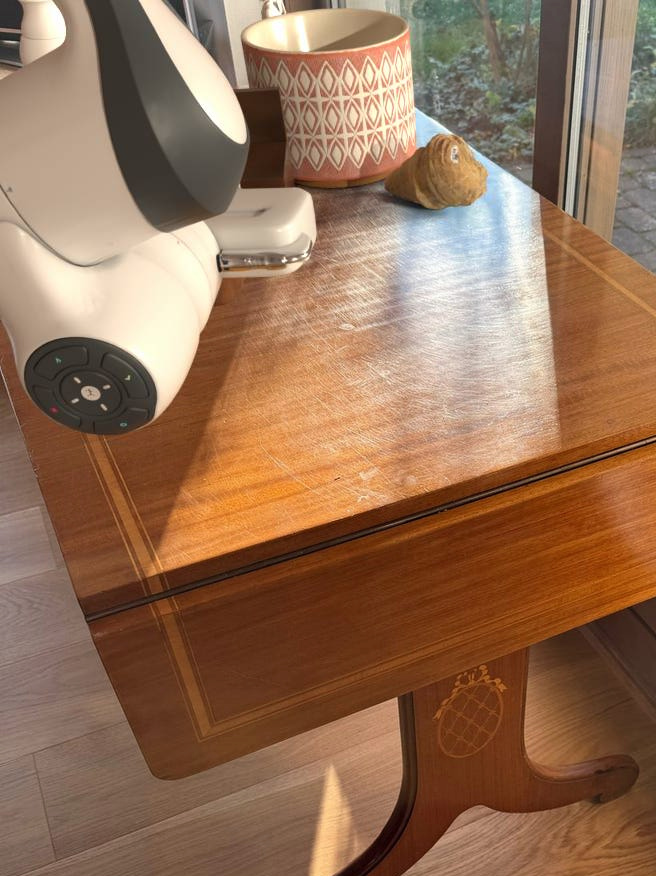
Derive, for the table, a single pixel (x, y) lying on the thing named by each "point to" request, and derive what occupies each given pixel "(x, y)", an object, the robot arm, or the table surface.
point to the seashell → (440, 175)
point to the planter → (338, 91)
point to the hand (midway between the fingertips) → (190, 189)
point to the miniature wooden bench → (265, 139)
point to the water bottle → (40, 29)
